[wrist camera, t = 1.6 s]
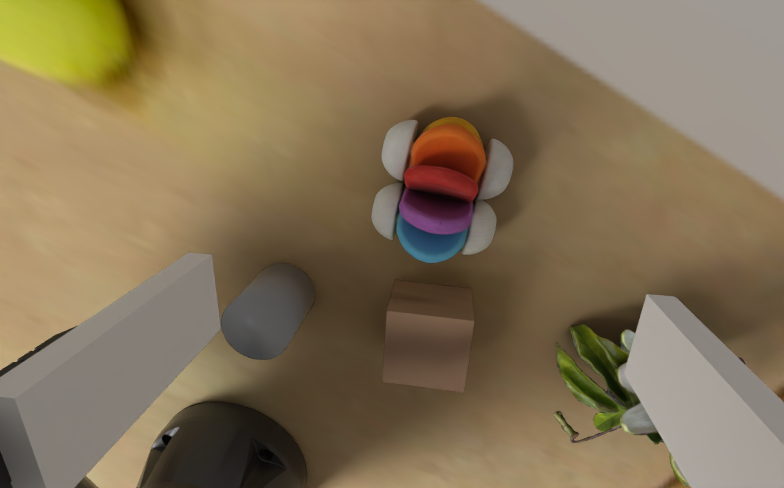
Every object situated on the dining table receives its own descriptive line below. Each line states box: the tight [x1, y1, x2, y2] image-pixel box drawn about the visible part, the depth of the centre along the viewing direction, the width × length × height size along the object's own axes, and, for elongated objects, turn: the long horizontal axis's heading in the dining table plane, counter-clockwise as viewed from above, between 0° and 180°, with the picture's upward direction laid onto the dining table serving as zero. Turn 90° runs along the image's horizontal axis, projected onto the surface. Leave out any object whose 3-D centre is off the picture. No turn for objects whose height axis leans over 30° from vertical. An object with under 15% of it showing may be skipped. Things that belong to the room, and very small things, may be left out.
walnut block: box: [382, 280, 475, 393], centre depth 33 cm, size 6×6×5 cm
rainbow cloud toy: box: [371, 117, 514, 263], centre depth 28 cm, size 8×10×7 cm
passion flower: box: [554, 324, 746, 487], centre depth 31 cm, size 11×11×12 cm
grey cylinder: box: [221, 263, 315, 360], centre depth 33 cm, size 5×5×6 cm
